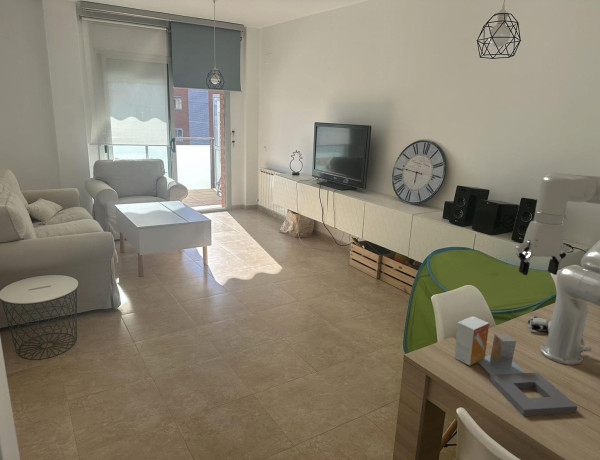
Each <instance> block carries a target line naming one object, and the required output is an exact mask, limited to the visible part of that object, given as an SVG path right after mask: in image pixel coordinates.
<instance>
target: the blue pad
mask: <svg viewBox="0 0 600 460" xmlns="http://www.w3.org/2000/svg"><path fill="white" fill-rule="evenodd" d="M490 357H491V354H490V355H489V354H488V355H486V354H485V358H484V359H482V360H480V361H478V362H477V363H478V364H479V365H480V366H481V367H482V368H483V370H484V371H485V372H486V373H488V375H489V376H490V375H497V374H517V373H527V372H526V371H525V370H524V369H523V368H521V367H520V366H519V365H518V364H517V363H516V362H515V361H513V360H512V365H511V369H501V370H498V369H497V368H496V367H494V366H493V365H492V364H491V363H490Z"/></svg>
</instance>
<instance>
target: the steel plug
mask: <svg viewBox="0 0 600 460" xmlns="http://www.w3.org/2000/svg"><path fill="white" fill-rule="evenodd" d="M516 344H517V340H516V339H515V338H513V337H512V336H511V335H510V334H508V333H494V335H493V342H492V347H491V352H490V355H491V357H490V363H491V364H492V365H493V366H494V367H496V368H497V369H498V370H501V369H511V365H512V361H513V359H514V354H515V350H516V349H515V348H516Z"/></svg>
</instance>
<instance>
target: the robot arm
mask: <svg viewBox="0 0 600 460" xmlns="http://www.w3.org/2000/svg"><path fill="white" fill-rule="evenodd" d="M568 202H573V203H588V204H593V205H594V204H595V205H600V176H598V175H597V176H596V175H582V174H572V173H571V174H570V173H561V172H550V173H548V174H546V175H545V176H543V177H542V179H541V180H540V185H539V190H538V195H537V200H536V205H535V211H534V215H533V216H534V217H533V220H531V221H530V222H529V223H528V227H527V229H526V231H525V235H524V238H523V242H522V243H519V244H518V245H516V246H515V247H514V249H515V252H516V256H517V257H518V258H519V259H518V260H520V263H519V267H518V268H519V269H518V272H519V273H520V274H521V275H523V276H527V275H529V271H530V270H529V269H530V262H529V261H530V260H531V259H532V258H534V257H536V258H537V257H542V258H543V257H544V258H546V257H550V259H549V262H548V267H547V272H548V273H550V274H553V275H555V276H556V275H557V276H556V277H557V278H556V297H555V303H554V307H553V312H552V315H551V319H550V321H551V325H550V330H549V332H548V334H547V340H546V342H544V343H541V345H540V346H539V348H540V349H539V350H540V352H541V354H543V356H545V357H546V358H548V359H550V360H551V361H555V362H556V363H560V364H565V365H573V366H574V365H575V366H576V365H580V364H581V363H582V362H583V359H584V358H583V356H582V353H584V352H591V351H592V347H591V346H590V345H583V344H582V340H583V335H584V330H585V327H586V322H587V319H588V316H589V315H588V313H589V306H588V303H590V304H592V305H596V306H599V307H600V239H599V240H598V241H597V242H596V243H595V244H594V245H592V247H590V248H589V249H588V250H587V251H586V252H585V253H584V254H583V256H582V257H581V260H580V265H581V266H577V265H567V266H564V267H562V268H561V269H560V270H559V265H560V263H562V261H563V259H565V257H566V256H567V254H568V253H569V251H570V250H571V247H569V246H568V245H566V244H565V243H564V237H565V224H564V220H566V219H567V215H566V214H565V213H566V209H567V205H568ZM587 302H588V303H587Z"/></svg>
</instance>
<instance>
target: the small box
mask: <svg viewBox="0 0 600 460" xmlns="http://www.w3.org/2000/svg"><path fill="white" fill-rule="evenodd" d="M456 326H457V327H456V335H455V346H454V347H455V348H454V354H453V355H454V358H455V359H456V360H458V361H460V362H461V363H464V364H466V365H468V366H472V365H474V364H477V363H478V361H480V360H482V359H484V358H485V356H486V353H487V351H486V350H487V345H488V343H487V342H488V335H489V327H490V323H489V322H488V321H485V320H483V319H480V318H478V317H476V316H473V315H472V316H470V317H467V318H464V319H462V320H460V321H458V322H457V324H456Z"/></svg>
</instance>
